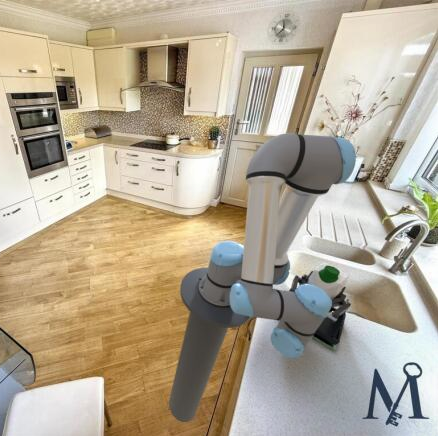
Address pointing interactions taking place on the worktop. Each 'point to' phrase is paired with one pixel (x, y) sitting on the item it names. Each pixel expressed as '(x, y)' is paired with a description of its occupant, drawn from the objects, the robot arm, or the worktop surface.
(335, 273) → the soya milk
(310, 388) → the worktop surface
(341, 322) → the black tray
